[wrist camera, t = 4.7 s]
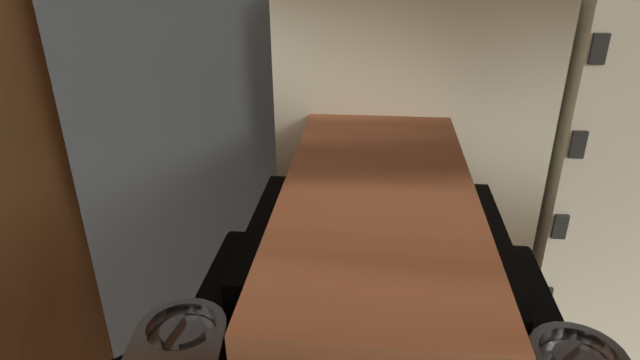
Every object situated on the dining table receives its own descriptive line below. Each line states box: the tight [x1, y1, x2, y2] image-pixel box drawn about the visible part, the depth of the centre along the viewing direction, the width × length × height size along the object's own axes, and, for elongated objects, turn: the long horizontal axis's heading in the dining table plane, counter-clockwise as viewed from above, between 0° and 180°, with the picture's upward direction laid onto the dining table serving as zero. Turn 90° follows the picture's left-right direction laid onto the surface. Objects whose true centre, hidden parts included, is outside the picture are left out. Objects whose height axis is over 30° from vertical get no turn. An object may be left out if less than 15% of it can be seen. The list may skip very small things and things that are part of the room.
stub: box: [224, 0, 582, 360], centre depth 10 cm, size 10×6×8 cm, turn 0°
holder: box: [32, 0, 640, 360], centre depth 12 cm, size 16×26×5 cm, turn 90°
